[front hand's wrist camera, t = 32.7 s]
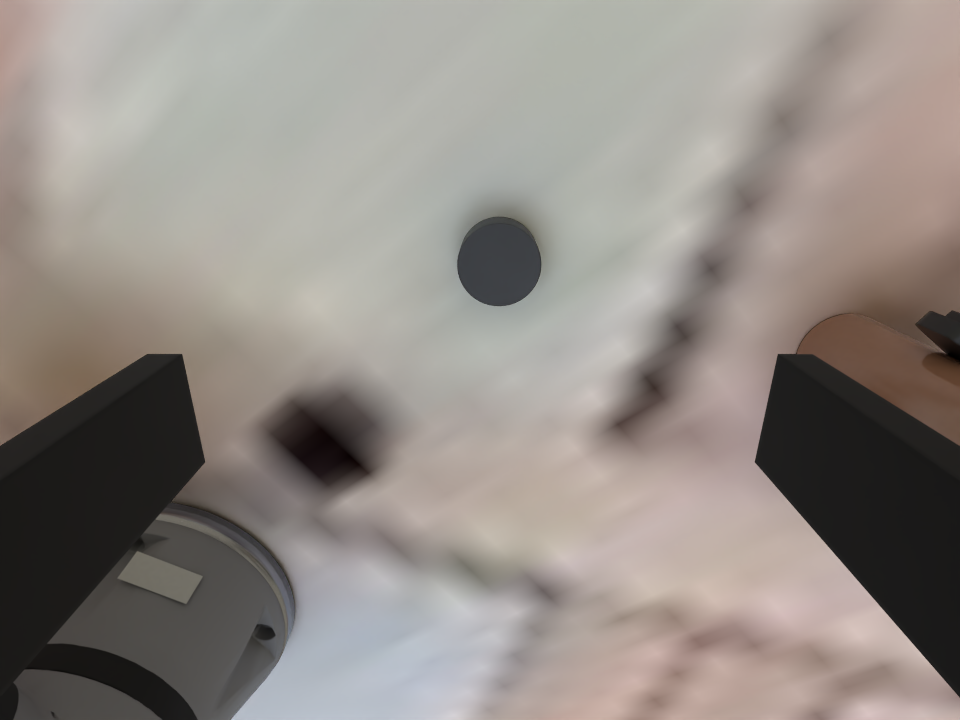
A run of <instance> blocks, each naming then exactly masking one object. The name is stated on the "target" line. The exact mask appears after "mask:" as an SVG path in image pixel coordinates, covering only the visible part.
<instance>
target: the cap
mask: <svg viewBox="0 0 960 720" xmlns="http://www.w3.org/2000/svg"><path fill="white" fill-rule="evenodd" d="M457 267H458V274H459V278H460V280H461V283H462V285H463V286H464V288H465V289H466V291H467V292H468V293H469V294H470V295H471V296H472V297H474V298H475V299H477V300H478V301H480V302H482V303H484V304H488V305H492V306H506V305H510V304H513V303H516V302H518V301H520V300H522V299H523V298H525V297H526V296H527V295H528V294H529V293H530V292H531V291H532V290H533V288H534V287H535V285H536V283H537V281H538V279H539V276H540V272H541V257H540V253H539V250H538V247H537V244H536V242H535V240H534V238H533V236H532V234H531V233H530V231H529V230H528V229H527V228H526V227H525V226H524V225H522V224H521V223H519V222H518V221H515V220H513V219H510V218H506V217H493V218H488V219H486V220H483V221H481V222H479V223H478V224H476V225H475V226H474V227H473V228H472V229H471V230H470V231H469V232H468V233H467V235H466V236H465V238H464V240H463V243H462V246H461V249H460V252H459V255H458V263H457Z"/></svg>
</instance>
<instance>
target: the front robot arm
mask: <svg viewBox="0 0 960 720" xmlns="http://www.w3.org/2000/svg"><path fill="white" fill-rule="evenodd" d="M204 463H205V459H204V454H203V450H202V445H201V440H200V436H199V431H198V426H197V422H196V417H195V412H194V408H193V403H192V398H191V394H190V389H189V384H188V380H187V375H186V370H185V366H184V361H183V356H182V354H147V355H145V356H143V357H142V358H140V359H139V360H137V361H135V362H134V363H132V364H131V365H129V366H127V367H126V368H124V369H123V370H121V371H119V372H118V373H116V374H115V375H113V376H111V377H110V378H108V379H107V380H105V381H103V382H102V383H100V384H99V385H97V386H95V387H94V388H92V389H91V390H89V391H87V392H86V393H84V394H83V395H81V396H79V397H78V398H76V399H75V400H73V401H71V402H70V403H68V404H67V405H65V406H63V407H62V408H60V409H59V410H57V411H55V412H54V413H52V414H51V415H49V416H47V417H46V418H44V419H43V420H41V421H39V422H38V423H36V424H35V425H33V426H31V427H30V428H28V429H27V430H25V431H23V432H22V433H20V434H18V435H17V436H15V437H14V438H12V439H10V440H9V441H7V442H6V443H4V444H2V445H1V446H0V720H231V719H232V717H233V716H234V715H235V714H236V713H237V712H238V710H239V709H240V708H241V707H242V706H243V705H244V703H245V702H246V701H247V700H248V699H249V698H250V697H251V695H252V694H253V693H254V692H255V691H256V690H257V688H258V687H259V686H260V685H261V684H262V683H263V681H264V680H265V679H266V678H267V677H268V675H269V674H270V673H271V671H272V670H273V668H274V667H275V666H276V664H277V663H278V661H279V659H280V657H281V655H282V653H283V650H284V648H285V646H286V643H287V641H288V638H289V636H290V633H291V630H292V627H293V623H294V614H295V608H294V599H293V595H292V591H291V588H290V585H289V582H288V580H287V578H286V576H285V574H284V572H283V571H282V569H281V568H280V566H279V565H278V563H277V562H276V560H275V559H274V558H273V557H272V555H271V554H270V553H269V552H268V551H267V550H266V549H265V548H264V547H263V546H262V545H261V544H260V543H259V542H258V541H257V540H255V539H254V538H253V537H252V536H250V535H249V534H248V533H246V532H245V531H243V530H242V529H240V528H239V527H237V526H236V525H234V524H232V523H230V522H229V521H227V520H225V519H223V518H220V517H218V516H216V515H214V514H211V513H209V512H206V511H203V510H200V509H197V508H194V507H190V506H186V505H181V504H176V503H170V502H171V501H172V500H173V498H174V497H175V496H176V495H177V494H178V493H179V492H180V490H181V489H182V488H183V487H184V486H185V485H186V483H187V482H188V481H189V480H190V479H191V478H192V477H193V475H194V474H195V473H196V472H197V471H198V470H199V469H200V467H201V466H202V465H203V464H204ZM755 463H756V464H757V465H758V466H759V467H760V469H761V470H762V471H763V472H764V473H765V474H766V475H767V477H768V478H769V479H770V480H771V481H772V482H773V483H774V485H775V486H776V487H777V488H778V489H779V490H780V492H781V493H782V494H783V495H784V496H785V497H786V498H787V500H788V501H789V502H790V503H791V504H792V505H793V506H794V508H795V509H796V510H797V511H798V512H799V513H800V514H801V516H802V517H803V518H804V519H805V520H806V521H807V523H808V524H809V525H810V526H811V527H812V528H813V529H814V531H815V532H816V533H817V534H818V535H819V536H820V537H821V539H822V540H823V541H824V542H825V543H826V544H827V545H828V547H829V548H830V549H831V550H832V551H833V552H834V554H835V555H836V556H837V557H838V558H839V559H840V560H841V562H842V563H843V564H844V565H845V566H846V567H847V568H848V570H849V571H850V572H851V573H852V574H853V575H854V576H855V578H856V579H857V580H858V581H859V582H860V583H861V585H862V586H863V587H864V588H865V589H866V590H867V591H868V593H869V594H870V595H871V596H872V597H873V598H874V599H875V601H876V602H877V603H878V604H879V605H880V606H881V607H882V609H883V610H884V611H885V612H886V613H887V614H888V616H889V617H890V618H891V619H892V620H893V621H894V622H895V624H896V625H897V626H898V627H899V628H900V629H901V630H902V632H903V633H904V634H905V635H906V636H907V637H908V639H909V640H910V641H911V642H912V643H913V644H914V645H915V647H916V648H917V649H918V650H919V651H920V652H921V653H922V655H923V656H924V657H925V658H926V659H927V660H928V661H929V663H930V664H931V665H932V666H933V667H934V668H935V670H936V671H937V672H938V673H939V674H940V675H941V676H942V678H943V679H944V680H945V681H946V682H947V683H948V684H949V686H950V687H951V688H952V689H953V690H954V691H955V692H956V694H957V695H958V696H959V697H960V446H959V445H958V444H956V443H954V442H953V441H951V440H950V439H948V438H946V437H945V436H943V435H942V434H940V433H938V432H937V431H935V430H933V429H932V428H930V427H929V426H927V425H925V424H924V423H922V422H921V421H919V420H917V419H916V418H914V417H913V416H911V415H909V414H908V413H906V412H905V411H903V410H901V409H900V408H898V407H897V406H895V405H893V404H892V403H890V402H889V401H887V400H885V399H884V398H882V397H881V396H879V395H877V394H876V393H874V392H873V391H871V390H869V389H868V388H866V387H865V386H863V385H861V384H860V383H858V382H857V381H855V380H853V379H852V378H850V377H849V376H847V375H845V374H844V373H842V372H841V371H839V370H837V369H836V368H834V367H833V366H831V365H829V364H828V363H826V362H825V361H823V360H821V359H820V358H818V357H817V356H815V355H813V354H778V356H777V361H776V366H775V370H774V375H773V380H772V384H771V389H770V394H769V398H768V403H767V408H766V412H765V417H764V422H763V426H762V431H761V436H760V440H759V445H758V450H757V454H756V459H755Z"/></svg>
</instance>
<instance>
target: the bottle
mask: <svg viewBox="0 0 960 720" xmlns="http://www.w3.org/2000/svg"><path fill="white" fill-rule="evenodd" d="M797 354H813V355H815V356H817V357H818V358H820V359H821V360H823V361H825V362H826V363H828V364H829V365H831V366H833V367H834V368H836V369H837V370H839V371H841V372H842V373H844V374H845V375H847V376H849V377H850V378H852V379H853V380H855V381H857V382H858V383H860V384H861V385H863V386H865V387H866V388H868V389H869V390H871V391H873V392H874V393H876V394H877V395H879V396H881V397H882V398H884V399H885V400H887V401H889V402H890V403H892V404H893V405H895V406H897V407H898V408H900V409H901V410H903V411H905V412H906V413H908V414H909V415H911V416H913V417H914V418H916V419H917V420H919V421H921V422H922V423H924V424H925V425H927V426H929V427H930V428H932V429H933V430H935V431H937V432H938V433H940V434H942V435H943V436H945V437H946V438H948V439H950V440H951V441H953V442H954V443H956V444H958V445H959V446H960V360H958V359H956V358H954V357H951V356H949V355H947V354H945V353H943V352H941V351H939V350H937V349H935V348H933V347H930V346H928V345H926V344H924V343H922V342H920V341H918V340H916V339H914V338H911V337H909V336H907V335H905V334H903V333H901V332H899V331H897V330H895V329H892V328H890V327H888V326H886V325H884V324H882V323H880V322H878V321H876V320H874V319H871V318H869V317H867V316H864V315H860V314H843V315H838V316H834V317H831V318H829V319H827V320H825V321H823V322H821V323H820V324H818V325H817V326H815V327H814V328H813V329H812V330H811V331H810V332H809V333H808V334H807V335H806V336H805V338H804V339H803V341H802V342H801V344H800V346H799V348H798V351H797Z"/></svg>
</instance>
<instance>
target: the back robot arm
mask: <svg viewBox="0 0 960 720" xmlns="http://www.w3.org/2000/svg"><path fill="white" fill-rule="evenodd" d="M915 325H916V326H917V327H918V328H919V329H920V330H921V331H922V332H923V333H924V334H925V335H927V336H928V337H929V338H930V339H931V340H932V341H933V342H934V343H935V344H936V345H937V346H939V347H940V348H941V349H942V350H943V351H944V352H945V353H946V354H947V355H949V356H951V357H954V358H956V359H958V360H960V313H959V312H955V311H951V312H950V313H949V314H947V315H946V316H943V315H940V314H938V313H935V312H932V311H930V312H928V313H927V314H926V315H925V316H924V317H923V318H922V319H921V320H919V321H918V322H917V323H916V324H915Z"/></svg>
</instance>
